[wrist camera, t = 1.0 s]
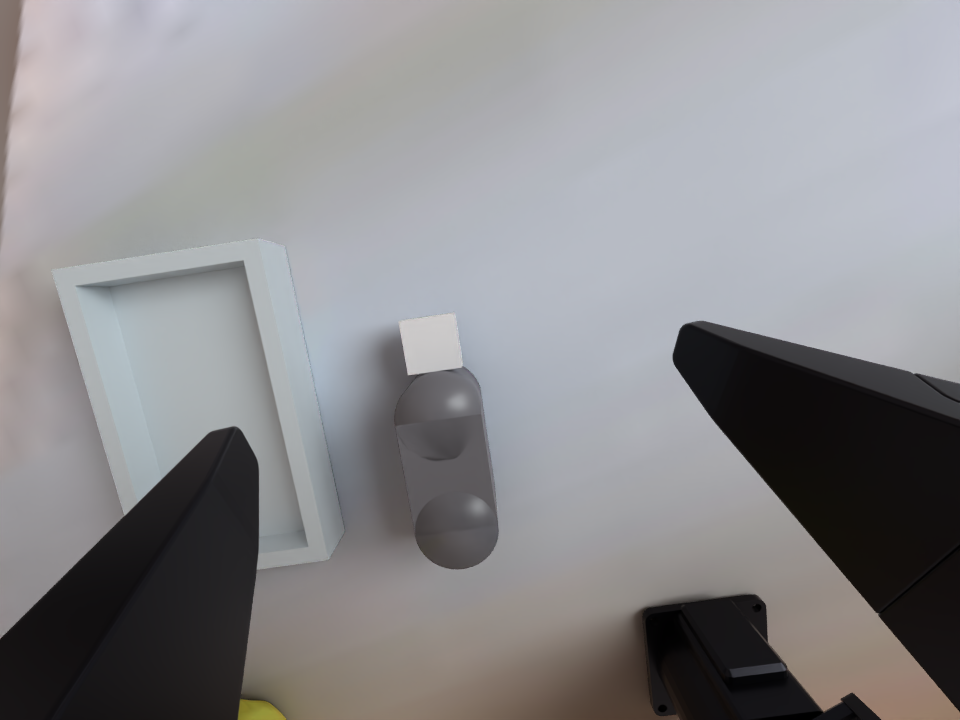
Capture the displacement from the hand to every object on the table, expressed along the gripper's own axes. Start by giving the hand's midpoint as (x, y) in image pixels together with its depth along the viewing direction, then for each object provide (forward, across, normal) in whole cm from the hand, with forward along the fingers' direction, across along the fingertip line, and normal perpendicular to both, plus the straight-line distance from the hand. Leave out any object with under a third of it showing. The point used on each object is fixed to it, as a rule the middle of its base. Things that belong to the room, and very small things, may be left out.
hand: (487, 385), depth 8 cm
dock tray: (+13, +10, +8) cm, 18 cm away
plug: (+9, -1, +10) cm, 13 cm away
